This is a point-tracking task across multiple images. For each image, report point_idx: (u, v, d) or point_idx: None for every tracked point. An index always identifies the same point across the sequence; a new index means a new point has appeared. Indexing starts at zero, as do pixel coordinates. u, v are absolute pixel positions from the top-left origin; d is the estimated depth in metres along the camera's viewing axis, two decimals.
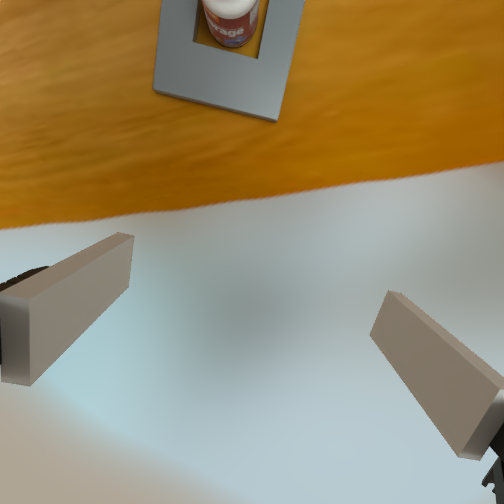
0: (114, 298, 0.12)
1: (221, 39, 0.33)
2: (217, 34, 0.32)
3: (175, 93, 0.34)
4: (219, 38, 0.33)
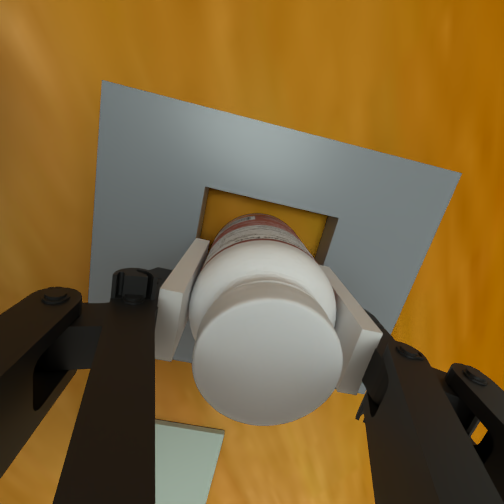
0: None
1: None
2: None
3: None
4: None
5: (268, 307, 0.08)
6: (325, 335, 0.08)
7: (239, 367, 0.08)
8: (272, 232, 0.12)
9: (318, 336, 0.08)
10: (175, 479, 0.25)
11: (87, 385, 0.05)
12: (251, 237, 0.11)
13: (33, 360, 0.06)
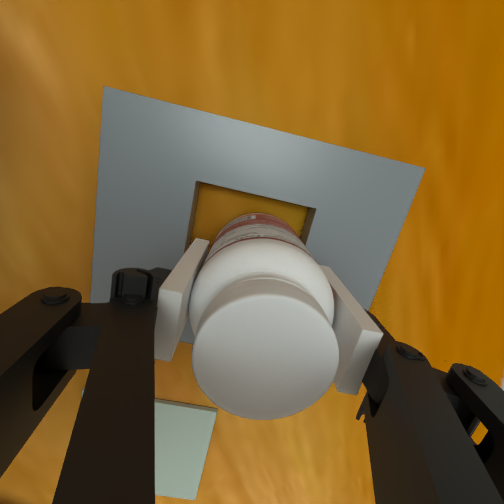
0: None
1: None
2: None
3: None
4: None
5: (266, 303, 0.08)
6: (321, 332, 0.08)
7: (237, 362, 0.08)
8: (272, 231, 0.13)
9: (314, 331, 0.08)
10: (172, 455, 0.26)
11: (86, 385, 0.05)
12: (251, 235, 0.12)
13: (33, 360, 0.06)
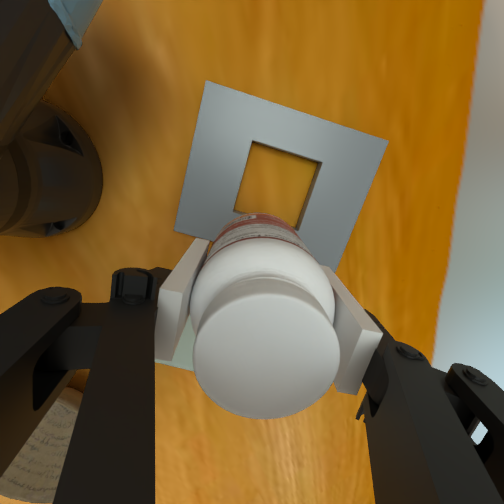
0: None
1: None
2: None
3: (341, 254, 0.33)
4: None
5: (267, 302, 0.08)
6: (322, 331, 0.08)
7: (238, 361, 0.08)
8: (272, 230, 0.13)
9: (315, 331, 0.08)
10: None
11: (87, 385, 0.05)
12: (252, 235, 0.12)
13: (33, 360, 0.06)
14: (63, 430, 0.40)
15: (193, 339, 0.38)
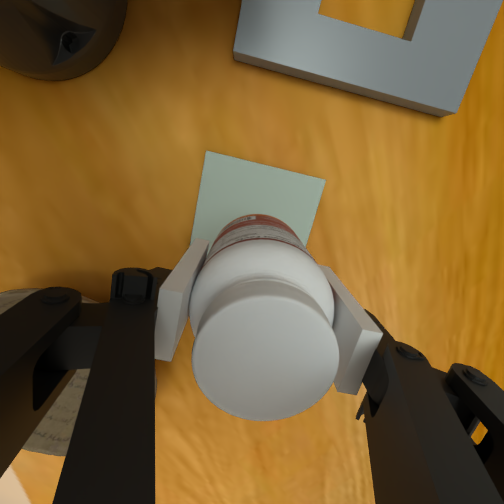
0: None
1: None
2: None
3: (469, 77, 0.23)
4: None
5: (266, 304, 0.08)
6: (321, 333, 0.08)
7: (237, 363, 0.08)
8: (272, 232, 0.13)
9: (315, 333, 0.08)
10: None
11: (87, 385, 0.05)
12: (251, 236, 0.12)
13: (33, 361, 0.06)
14: None
15: None
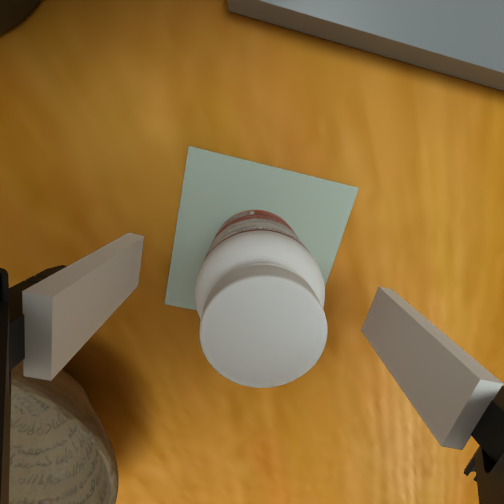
0: (125, 297, 0.12)
1: None
2: None
3: None
4: None
5: (264, 283, 0.09)
6: (311, 308, 0.10)
7: (239, 335, 0.10)
8: (269, 224, 0.14)
9: (306, 308, 0.10)
10: None
11: None
12: (250, 228, 0.13)
13: None
14: (38, 438, 0.23)
15: None
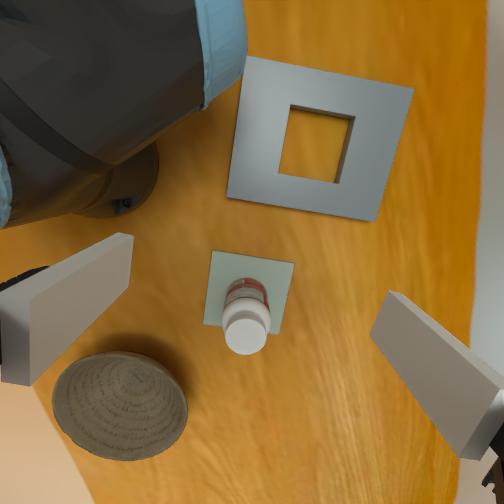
0: (114, 298, 0.12)
1: None
2: None
3: (380, 200, 0.36)
4: None
5: (244, 320, 0.30)
6: (260, 327, 0.30)
7: (238, 337, 0.30)
8: (249, 292, 0.35)
9: (258, 327, 0.30)
10: None
11: None
12: (241, 296, 0.34)
13: None
14: (139, 398, 0.44)
15: None
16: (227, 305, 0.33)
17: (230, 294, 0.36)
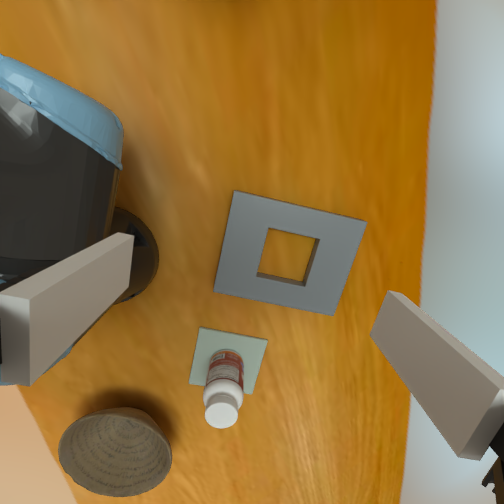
0: (114, 298, 0.12)
1: None
2: None
3: (338, 301, 0.44)
4: None
5: (220, 404, 0.38)
6: (232, 409, 0.38)
7: (215, 415, 0.38)
8: (227, 371, 0.43)
9: (231, 409, 0.38)
10: None
11: None
12: (220, 376, 0.42)
13: None
14: (130, 441, 0.52)
15: None
16: (208, 384, 0.41)
17: (212, 370, 0.44)
